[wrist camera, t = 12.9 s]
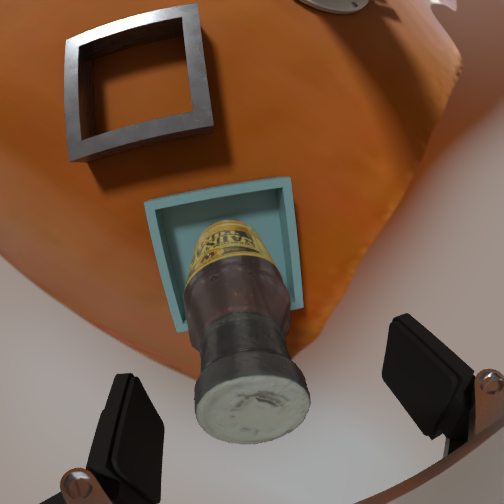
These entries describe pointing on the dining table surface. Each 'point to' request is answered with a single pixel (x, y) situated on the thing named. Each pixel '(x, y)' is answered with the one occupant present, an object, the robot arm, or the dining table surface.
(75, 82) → the steel collar
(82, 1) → the dining table surface
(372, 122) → the dining table surface
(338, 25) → the dining table surface
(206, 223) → the teal tray
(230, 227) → the sauce bottle
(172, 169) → the dining table surface
